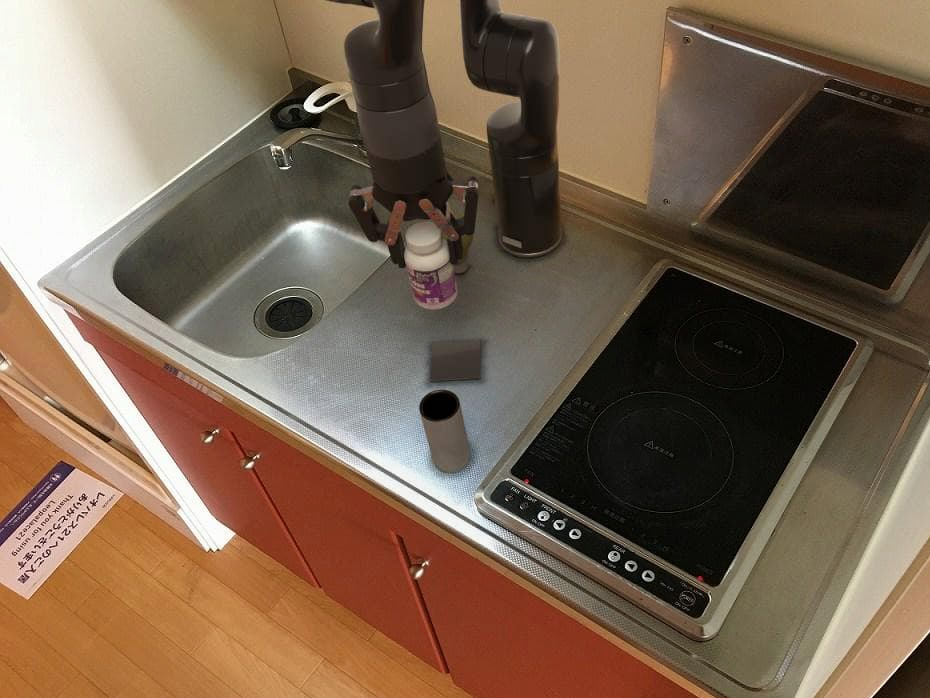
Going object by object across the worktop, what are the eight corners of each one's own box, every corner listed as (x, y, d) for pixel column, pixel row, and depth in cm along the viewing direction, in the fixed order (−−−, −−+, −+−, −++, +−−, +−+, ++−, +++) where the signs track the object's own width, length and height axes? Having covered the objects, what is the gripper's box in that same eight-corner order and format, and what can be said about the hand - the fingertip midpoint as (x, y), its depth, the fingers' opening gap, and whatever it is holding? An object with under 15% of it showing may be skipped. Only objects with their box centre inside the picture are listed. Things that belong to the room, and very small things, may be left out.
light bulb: (445, 288, 116) (434, 234, 108) (436, 263, 120) (425, 209, 112) (483, 279, 117) (475, 224, 109) (473, 254, 120) (465, 199, 113)
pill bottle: (405, 303, 97) (388, 241, 89) (428, 274, 100) (414, 212, 92) (444, 317, 95) (430, 254, 87) (466, 287, 98) (455, 224, 90)
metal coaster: (432, 345, 110) (432, 343, 109) (480, 342, 109) (480, 340, 109) (430, 382, 105) (429, 380, 105) (480, 379, 105) (480, 377, 105)
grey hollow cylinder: (450, 435, 100) (438, 382, 92) (478, 454, 98) (468, 401, 90) (425, 461, 98) (410, 408, 90) (453, 480, 96) (440, 428, 88)
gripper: (474, 105, 82) (492, 235, 95) (333, 116, 83) (369, 243, 96) (473, 150, 77) (491, 280, 90) (323, 161, 78) (363, 289, 91)
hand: (428, 261), depth 93 cm, fingers closed on pill bottle, 5 cm apart
